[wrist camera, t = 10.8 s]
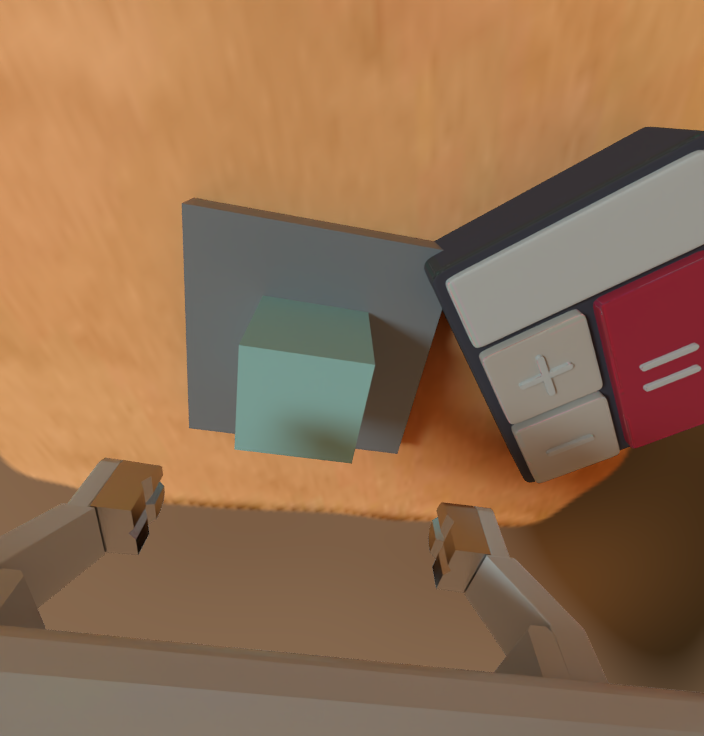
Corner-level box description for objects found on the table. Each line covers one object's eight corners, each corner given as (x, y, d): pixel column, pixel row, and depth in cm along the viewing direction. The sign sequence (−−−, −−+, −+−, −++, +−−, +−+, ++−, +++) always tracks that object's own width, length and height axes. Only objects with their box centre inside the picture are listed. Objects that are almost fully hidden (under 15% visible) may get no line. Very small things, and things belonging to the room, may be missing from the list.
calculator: (532, 496, 23) (432, 283, 16) (505, 443, 27) (413, 250, 20) (740, 421, 21) (735, 126, 13) (680, 374, 25) (650, 121, 17)
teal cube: (368, 312, 19) (375, 365, 15) (350, 397, 22) (351, 463, 18) (263, 295, 19) (238, 344, 15) (256, 384, 21) (234, 449, 17)
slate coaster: (451, 244, 19) (459, 253, 18) (394, 437, 25) (397, 453, 24) (193, 197, 18) (181, 203, 17) (197, 411, 24) (189, 428, 23)
